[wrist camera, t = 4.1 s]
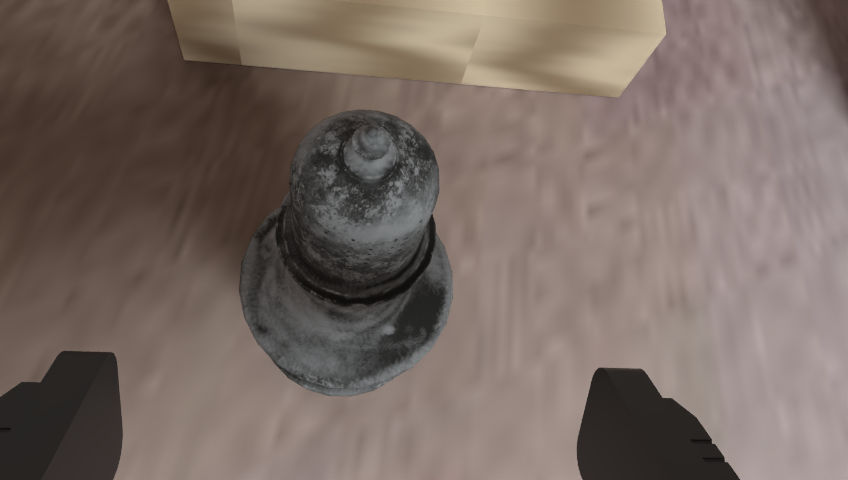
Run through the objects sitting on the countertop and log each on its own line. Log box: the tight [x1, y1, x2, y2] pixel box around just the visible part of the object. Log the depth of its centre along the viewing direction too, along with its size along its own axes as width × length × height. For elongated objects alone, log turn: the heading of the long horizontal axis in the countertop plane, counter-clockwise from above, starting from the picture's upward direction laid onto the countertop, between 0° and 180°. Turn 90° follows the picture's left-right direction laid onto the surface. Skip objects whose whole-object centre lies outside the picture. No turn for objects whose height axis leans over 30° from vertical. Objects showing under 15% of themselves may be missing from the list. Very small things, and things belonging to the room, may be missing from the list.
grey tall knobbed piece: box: [239, 110, 453, 396], centre depth 17 cm, size 6×6×12 cm
